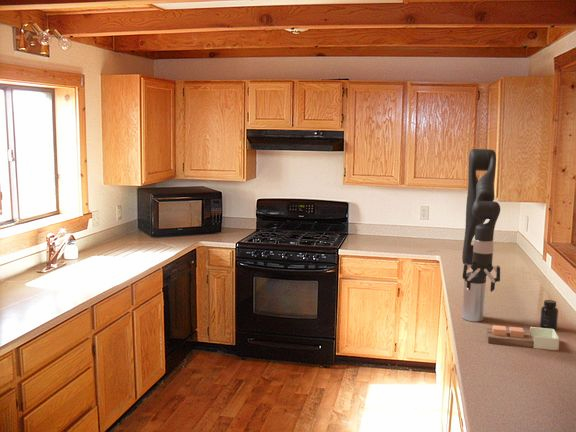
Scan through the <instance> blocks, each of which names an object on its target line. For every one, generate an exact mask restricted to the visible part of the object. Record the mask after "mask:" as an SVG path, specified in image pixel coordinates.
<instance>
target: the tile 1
mask: <svg viewBox="0 0 576 432" xmlns="http://www.w3.org/2000/svg"><path fill="white" fill-rule="evenodd" d="M491 329H492V332H493V335H497V336H506V333H507V327H506V326H505V325H504V326H503V325H494V324H493V325H492V328H491Z"/></svg>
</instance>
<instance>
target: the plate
mask: <svg viewBox="0 0 576 432" xmlns="http://www.w3.org/2000/svg"><path fill="white" fill-rule="evenodd" d="M506 330H507V329H506ZM485 334H486V339H487V343H488V344H494V345H504V346H512V347H513V346H514V347H525V348H533V347H534V340H533V338H532V336H531V333H530V331H529V332H528V331H524V338H518V337H510V334H509V329H508V330H507V333H506V336H497V335H493V332H492V328H487V327H486V331H485ZM533 349H534V348H533Z"/></svg>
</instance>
